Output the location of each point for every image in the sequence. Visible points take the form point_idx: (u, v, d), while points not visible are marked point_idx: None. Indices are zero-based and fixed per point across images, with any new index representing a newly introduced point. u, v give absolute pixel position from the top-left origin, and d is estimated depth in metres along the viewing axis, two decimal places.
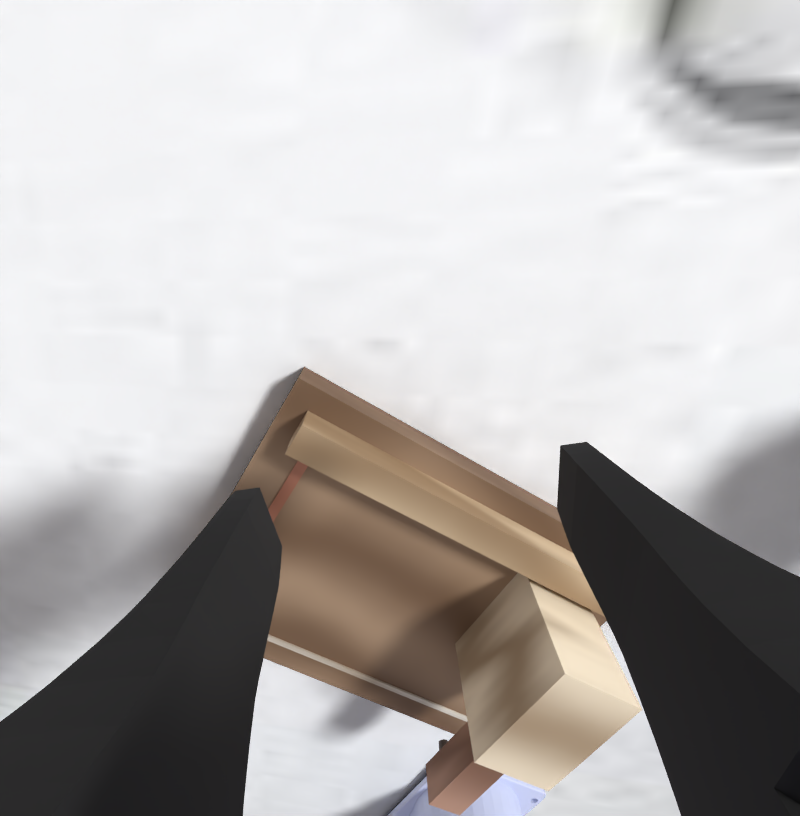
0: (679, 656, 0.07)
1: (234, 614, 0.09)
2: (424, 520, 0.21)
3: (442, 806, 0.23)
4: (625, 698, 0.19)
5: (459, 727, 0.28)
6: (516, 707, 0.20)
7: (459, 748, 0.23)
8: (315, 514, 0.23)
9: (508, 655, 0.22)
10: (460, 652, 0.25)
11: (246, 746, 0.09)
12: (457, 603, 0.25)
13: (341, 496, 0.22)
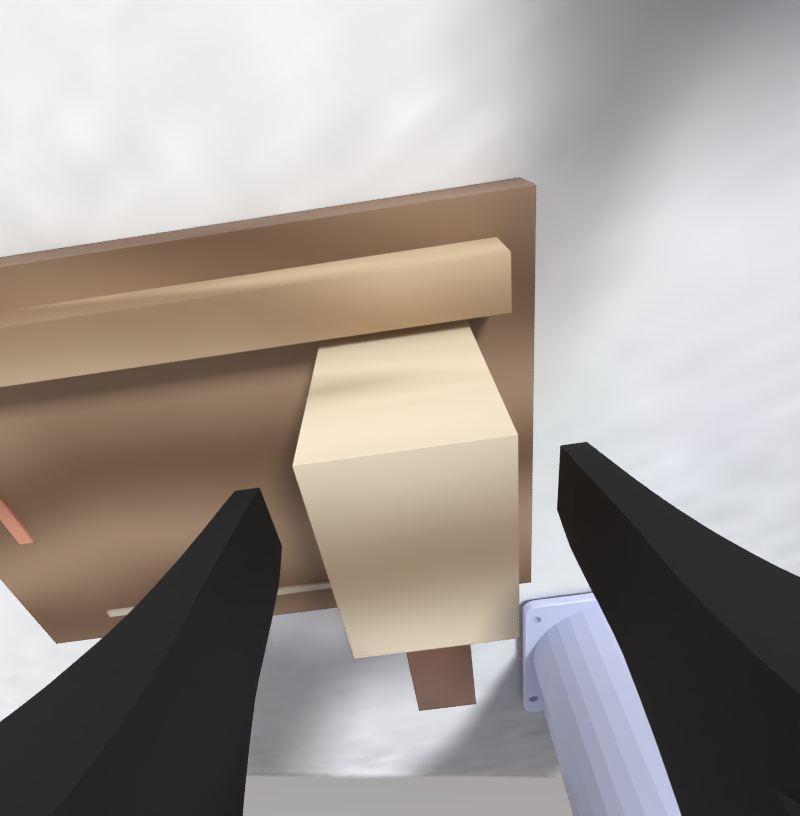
0: (679, 656, 0.07)
1: (234, 614, 0.09)
2: (61, 370, 0.12)
3: (443, 703, 0.15)
4: (472, 434, 0.09)
5: None
6: None
7: None
8: (19, 453, 0.15)
9: None
10: None
11: (246, 746, 0.09)
12: None
13: (11, 412, 0.15)
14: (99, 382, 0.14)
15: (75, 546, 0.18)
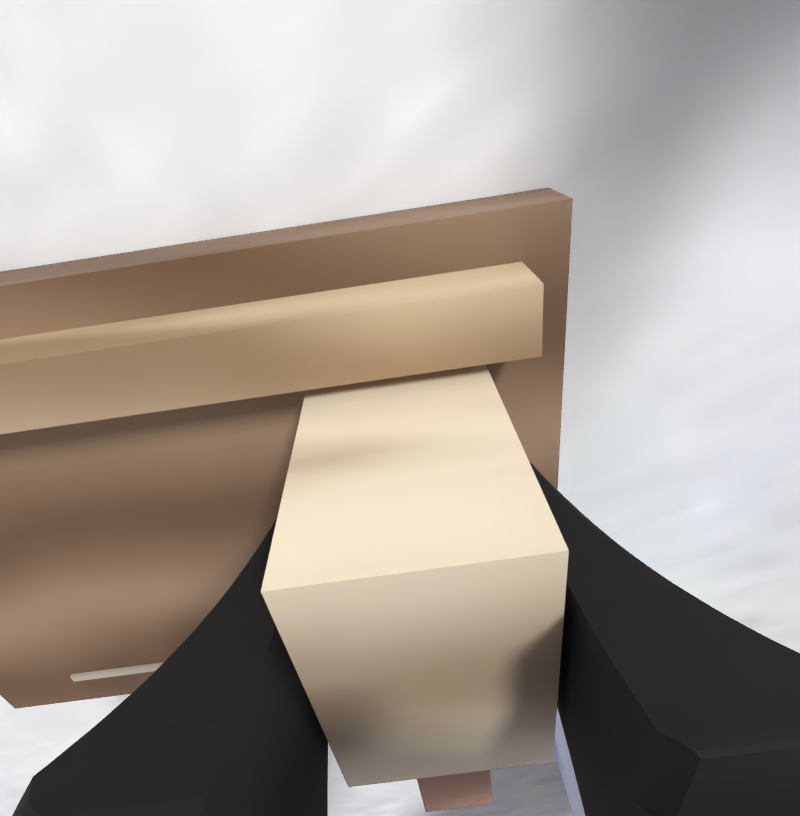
0: (577, 669, 0.07)
1: None
2: None
3: (454, 802, 0.13)
4: (505, 547, 0.06)
5: None
6: None
7: None
8: None
9: None
10: None
11: None
12: None
13: None
14: (43, 432, 0.12)
15: (29, 609, 0.15)
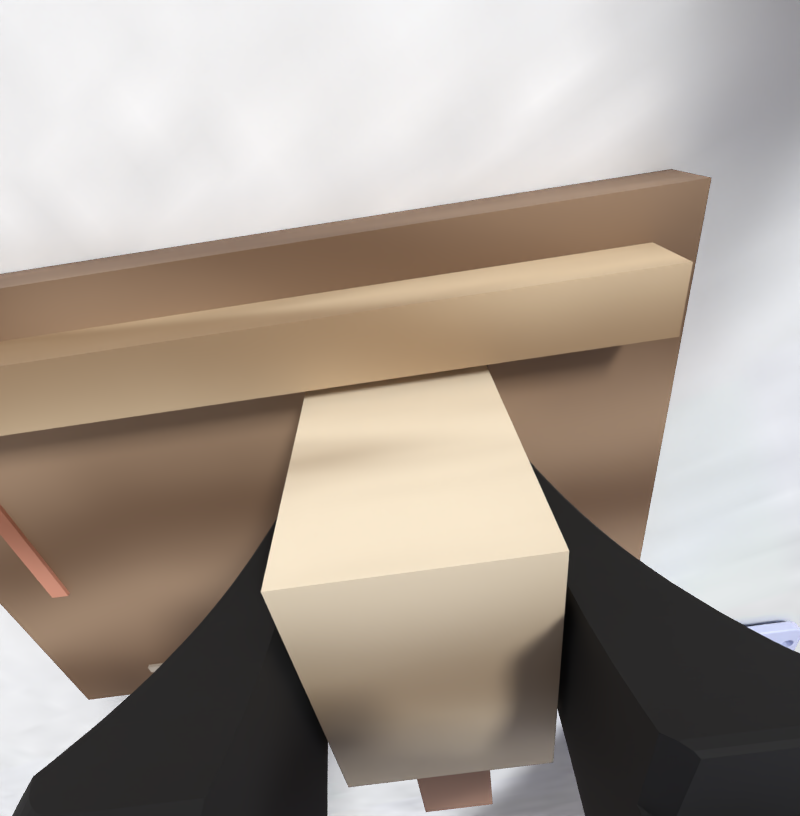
0: (576, 669, 0.07)
1: None
2: (119, 409, 0.10)
3: (454, 802, 0.13)
4: (505, 547, 0.06)
5: None
6: None
7: None
8: (56, 497, 0.13)
9: None
10: None
11: None
12: None
13: (48, 453, 0.12)
14: (155, 417, 0.12)
15: (116, 598, 0.15)
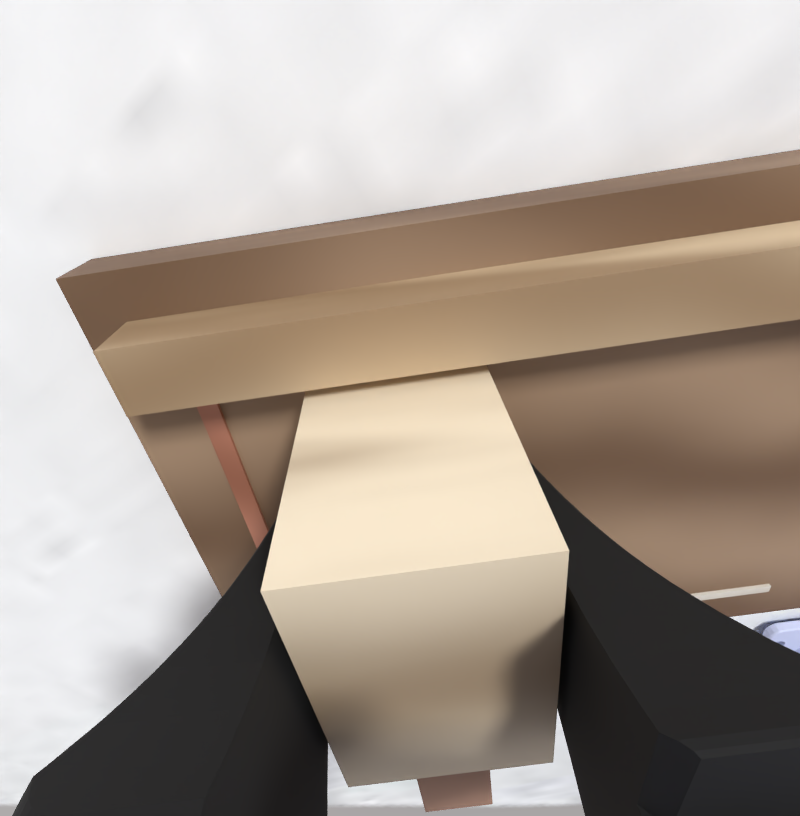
0: (576, 669, 0.07)
1: None
2: (443, 361, 0.10)
3: (454, 802, 0.13)
4: (506, 547, 0.06)
5: (761, 602, 0.17)
6: None
7: None
8: None
9: None
10: None
11: None
12: (631, 449, 0.13)
13: None
14: None
15: None
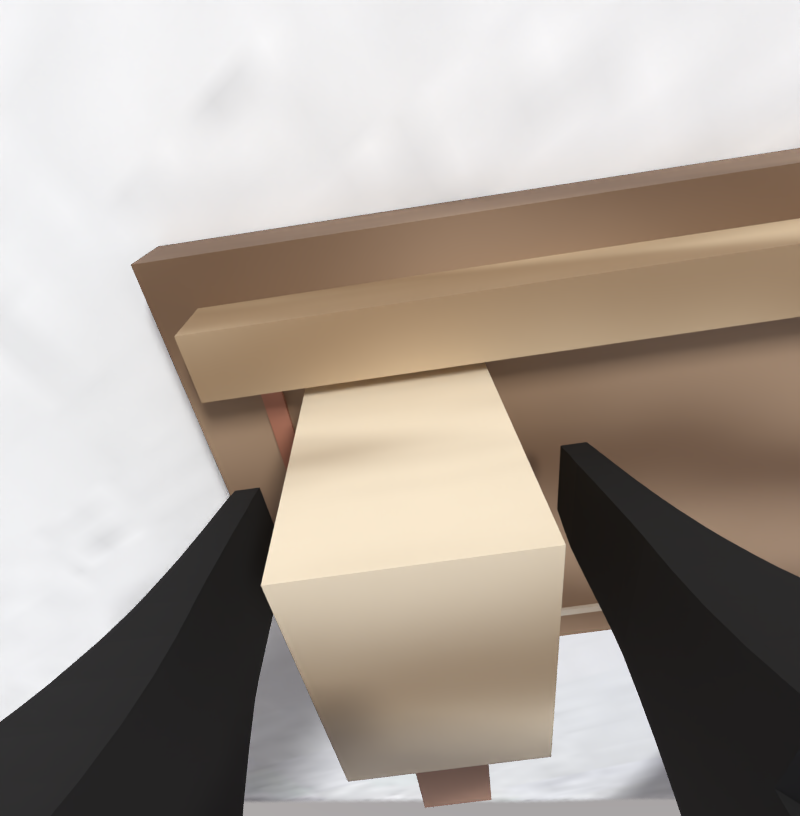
0: (679, 656, 0.07)
1: (234, 614, 0.09)
2: (520, 347, 0.10)
3: (453, 798, 0.13)
4: (503, 541, 0.06)
5: None
6: None
7: None
8: None
9: None
10: None
11: (246, 746, 0.09)
12: (688, 438, 0.13)
13: None
14: (491, 365, 0.12)
15: None
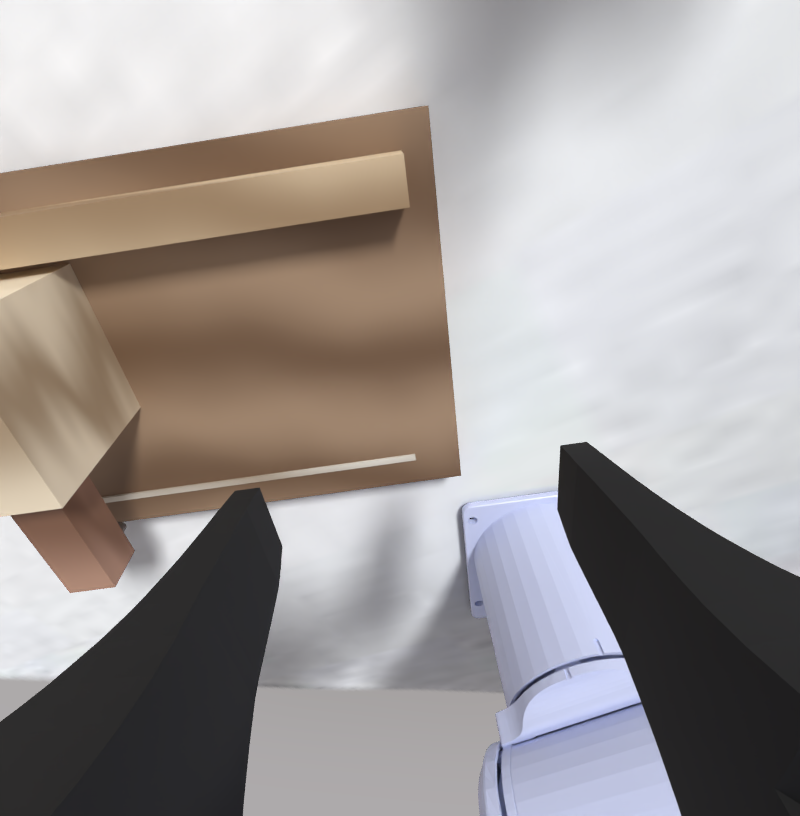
0: (679, 656, 0.07)
1: (234, 614, 0.09)
2: (53, 254, 0.15)
3: (91, 587, 0.19)
4: None
5: (417, 471, 0.23)
6: None
7: None
8: None
9: None
10: None
11: (246, 745, 0.09)
12: (254, 335, 0.19)
13: None
14: (85, 277, 0.17)
15: None
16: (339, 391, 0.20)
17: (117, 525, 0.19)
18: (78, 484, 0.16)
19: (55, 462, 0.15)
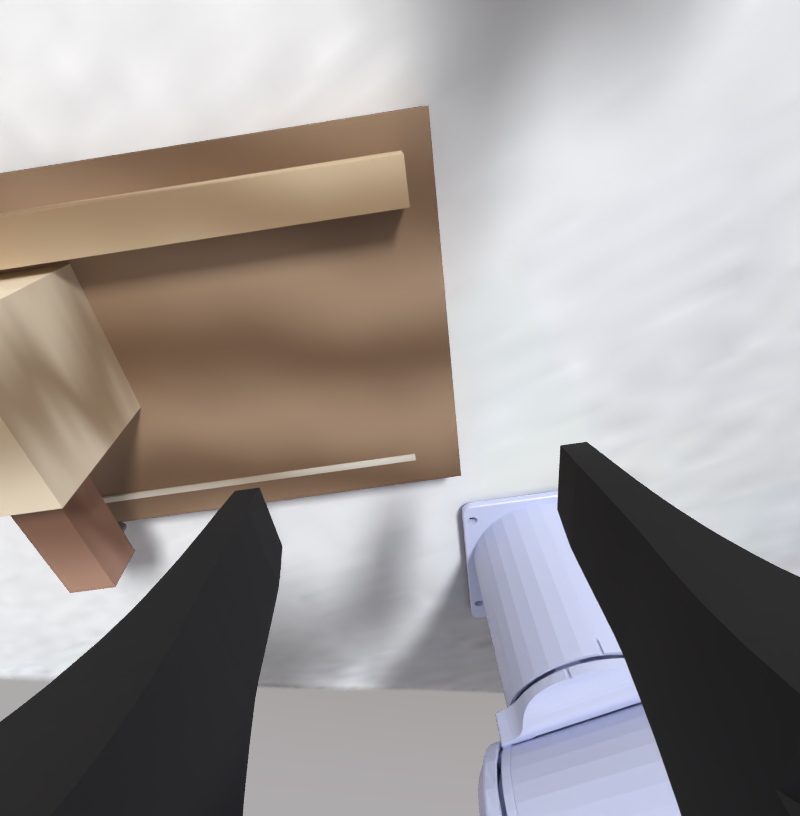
0: (679, 656, 0.07)
1: (234, 614, 0.09)
2: (53, 254, 0.15)
3: (91, 587, 0.19)
4: None
5: (417, 471, 0.23)
6: None
7: None
8: None
9: None
10: None
11: (246, 745, 0.09)
12: (254, 335, 0.19)
13: None
14: (85, 277, 0.17)
15: None
16: (339, 391, 0.20)
17: (117, 525, 0.19)
18: (78, 484, 0.16)
19: (55, 462, 0.15)
